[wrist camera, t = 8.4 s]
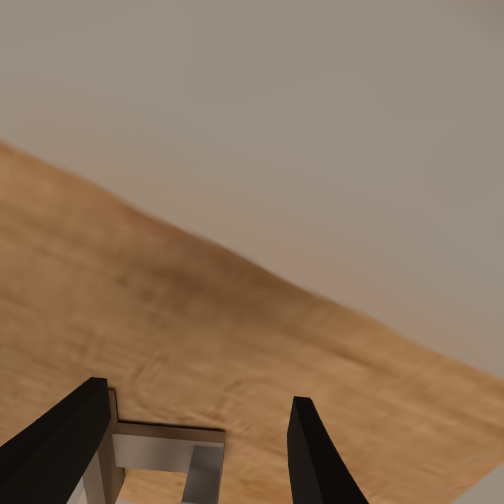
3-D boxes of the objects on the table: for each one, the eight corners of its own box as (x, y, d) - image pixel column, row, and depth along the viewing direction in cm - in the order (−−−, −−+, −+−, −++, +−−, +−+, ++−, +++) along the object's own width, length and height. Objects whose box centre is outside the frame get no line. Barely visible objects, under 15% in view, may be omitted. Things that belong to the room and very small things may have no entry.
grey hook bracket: (108, 479, 27) (75, 549, 22) (95, 389, 23) (52, 451, 18) (221, 489, 27) (212, 562, 22) (226, 401, 23) (218, 465, 18)
